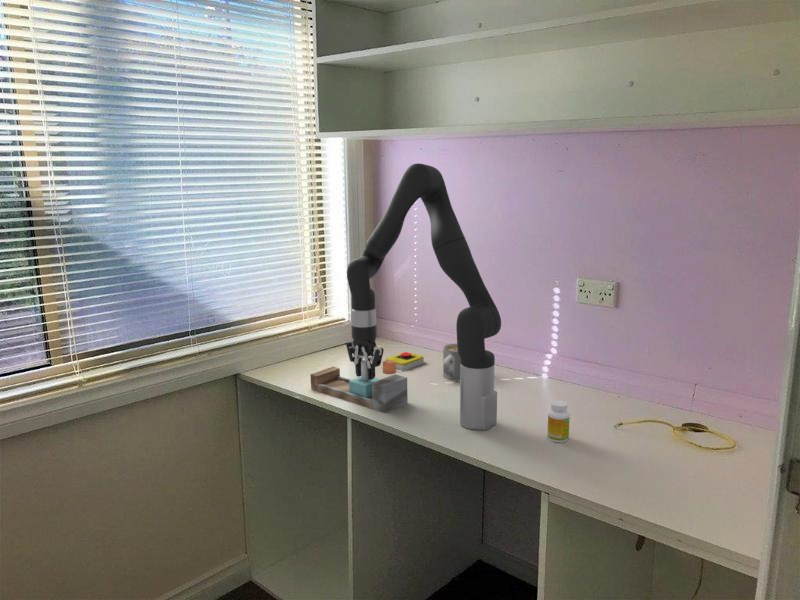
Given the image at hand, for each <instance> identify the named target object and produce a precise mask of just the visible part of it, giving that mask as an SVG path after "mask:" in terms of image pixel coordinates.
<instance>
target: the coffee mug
mask: <svg viewBox="0 0 800 600" xmlns="http://www.w3.org/2000/svg"><path fill="white" fill-rule="evenodd" d="M442 350H443V351H442V352H443V353H442V355H443V357H442V365H443V366H442V369H443V370H442V377H443V376H444V377H445V378H444V377H443V378H444V379H446V378H447V379H446V380H449V379H450V380H449V381H454V380H460V356H459V354H458V349H457V342H454V343H448V344H446V345H443V348H442Z"/></svg>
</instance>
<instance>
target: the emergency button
mask: <svg viewBox="0 0 800 600" xmlns="http://www.w3.org/2000/svg"><path fill="white" fill-rule="evenodd" d="M387 360H393V361H396V373H403V372H405V371H408V370H411V369H414V368H417V367H419V365H420V366H422V365H425V364H427V361H425V360H424V356H423V355H421V354H416V353H412V352H407V351H404V352H401V353H398V354H394V355H392V356H389V357H387V358H385V361H387ZM424 363H425V364H424ZM421 364H422V365H421ZM416 366H417V367H416ZM380 367H381V368H382V369H383V365H382V366H380Z"/></svg>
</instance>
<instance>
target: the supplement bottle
mask: <svg viewBox="0 0 800 600" xmlns="http://www.w3.org/2000/svg"><path fill="white" fill-rule="evenodd" d="M550 404H551V405H550V408H551V409H549V411H548V416H547V439H548V440H549V441H551V442H554V443H566V442H567V441H568V440H569V438H570V420H571V419H570V418H571V417H570V412H569V411H568V403H567V402H566V401H562V400H554V401H552V402H551V403H550Z"/></svg>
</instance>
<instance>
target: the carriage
mask: <svg viewBox="0 0 800 600" xmlns="http://www.w3.org/2000/svg"><path fill="white" fill-rule="evenodd" d="M381 379H382V378H376V377H374V379H372V380H369V379H368V365H367V361H365V359H363V361H361V376H360V377H357V378H353V379H350V381H349V391H350V393H352V394H356V395H359V396H362V397H365V398H369V397H371V396H372V383H373V382H376V381H378V380H381Z"/></svg>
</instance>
